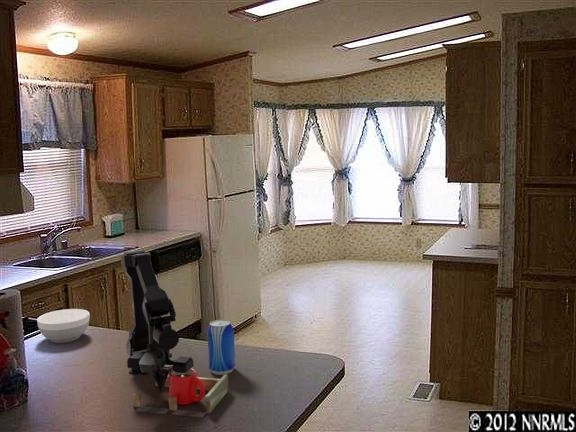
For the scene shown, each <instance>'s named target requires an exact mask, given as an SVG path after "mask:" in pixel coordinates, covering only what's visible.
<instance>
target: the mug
mask: <svg viewBox="0 0 576 432" xmlns="http://www.w3.org/2000/svg"><path fill="white" fill-rule="evenodd" d="M168 375H169V387H168V398H169V397H177V405H188V404H193V403H194V402H195V403H197V402H201V401H202V400H203V399H204V398H205V396H206V390H205V387H204V384H203V382H202V381H201V380H200V379H199V378H197V377H198V372H197V370H196V369H194V368H191V369H190V370H189V371H187V372H186V373H176V372H175V371H174V370H173V369H172V370H171V371H170V372H169V374H168ZM197 384H198V386H199V388H200V390H199V394H198V393H197ZM197 394H198V395H197Z"/></svg>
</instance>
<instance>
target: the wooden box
mask: <svg viewBox="0 0 576 432" xmlns="http://www.w3.org/2000/svg"><path fill="white" fill-rule="evenodd" d="M228 375H229V374H224V375H222V377H221V378H215V377H214V378H212V377H200V376H197V378H199V379H200V380H201V381H202V382H203V384H204V387H205V391H208V393H207V394H205V396H204V398H205V412H204V411H194V410H183V409H178V404H177V397H169V396H168V408H165V407H164V408H162V407H153V406H152V407H151V406H142V405H143V404H142V394H141V393H133V394H132V402H133V403H132V404H133V408H136V409H135V412H140V413H151V414H160V415H166V414H167V413H168V412H169V411H173V412H172V413H171V415H172V416H179V417H180V416H181V417H190V418H205V416H206V415H207V414H211V413H212V412H213V410H214V409H215V408H216V407H217V406H218V404H219V403H220V402H221V401H222V399H223V398H224V396H225V395H226V394H227V393H228V392H229V383H228V382H229V381H228V380H229V378H228ZM155 386H156V387H158V385H157V383H156V382H155ZM164 388H169V374H168V377H167V379H166V382H165V385H164ZM197 390H198V391H200V388H199V386H198V384H197Z"/></svg>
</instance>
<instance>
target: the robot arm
mask: <svg viewBox="0 0 576 432" xmlns="http://www.w3.org/2000/svg"><path fill="white" fill-rule="evenodd" d="M120 264H121V267H122V269H123V272H124V273H125V274H126V276H127V277H128V278H129V288H130V289H129V290H130V299H131V300H130V301H131V312H132V325H131V327H130V329H129V331H128V335H129V337H128V338H127V341H126V344H125V348H126V349H125V350H126V353H127V354H128V356H129V357H128V358H127V360H126V368H127V369H131V370H129V371H128V373H129V374H134V375H137V374H138V375H148V374H149V375H152V377H153V379H154V380H155V384H156V383H157V385H158V386H157V387H158V390H159V391H160V392H162V391H163V390H164V388H165V387H164V385H165V382H166V379H167V377H168V375H169V373H170V371H171V370H174V371H175V372H176V373H186V372H187V371H189V370H190V369H193V367H194V359H193V358H192V357H191V356H181V355H180V356H179V357H178V358H177V359H171V358H172V357H173V353H172V352H170V351H171V350H173V349H174V348H175V347H176V346H178V343H179V341H180V336H179V333H178V332H177V331H176V330H175V329H174V328H173V327H172V322H176V321H177V320H176V316H177V313H176V311H175V310H176V309H175V307H174V304H173V302H172V299H170V298H169V296H168V293H167V292H166V290H164V289H162V288H161V287H160V286H159V285H160V284H159V283H158V279H157V277H156V274H155V271H154V268H153V264H152V258H151V252H146V251H145V249H138V250H129V251H124V253H123V255H120Z"/></svg>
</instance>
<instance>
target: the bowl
mask: <svg viewBox="0 0 576 432" xmlns="http://www.w3.org/2000/svg"><path fill="white" fill-rule="evenodd" d="M36 322H37V323H36V324H37V327H38V330H39V333H40V334H41V335H42V336H43V337H44V338H45V339H48V340H49V341H50V342H51V343H54V344H55V343H56V344H60V343H61V344H64V343H70V342H74V341H77V340H79V339H80V338H81V336H82V335H83V334H84V333H86V330H87V329H88V328H89V324H90V312H89V311H88V310H86V309H81V308H67V309H59V310H57V309H56V310H53V311H49V312H46V313H44V314H42V315H39V317H38V316H37V318H36Z"/></svg>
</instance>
